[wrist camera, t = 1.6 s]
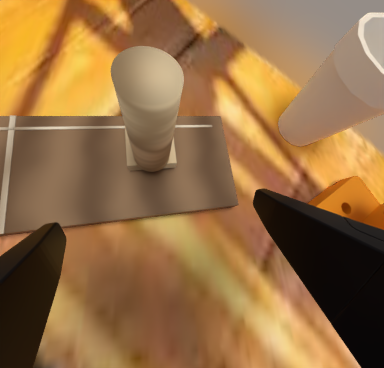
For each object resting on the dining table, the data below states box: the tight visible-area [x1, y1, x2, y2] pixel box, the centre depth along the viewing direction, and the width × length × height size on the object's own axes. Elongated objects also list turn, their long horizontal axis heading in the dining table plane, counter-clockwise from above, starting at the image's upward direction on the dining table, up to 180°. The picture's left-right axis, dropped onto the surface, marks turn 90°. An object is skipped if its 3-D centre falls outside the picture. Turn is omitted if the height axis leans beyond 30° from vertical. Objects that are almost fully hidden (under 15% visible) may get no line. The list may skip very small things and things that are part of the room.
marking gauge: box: [111, 46, 184, 172], centre depth 16 cm, size 5×10×14 cm, turn 9°
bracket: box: [307, 176, 384, 230], centre depth 20 cm, size 11×7×12 cm, turn 122°
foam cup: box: [278, 13, 384, 147], centre depth 23 cm, size 10×9×13 cm
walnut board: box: [0, 116, 238, 236], centre depth 20 cm, size 30×12×2 cm, turn 99°
